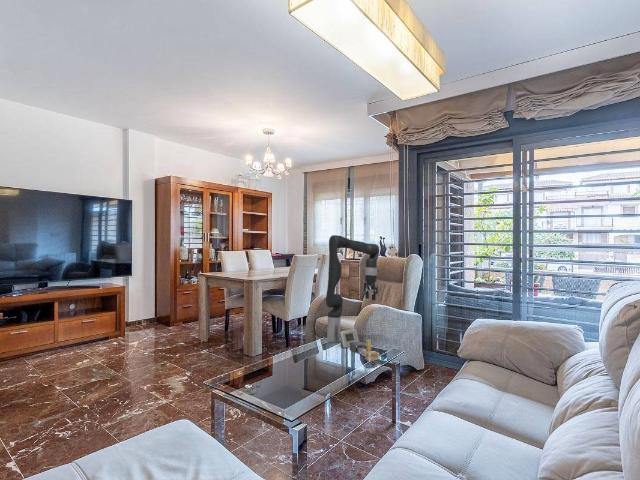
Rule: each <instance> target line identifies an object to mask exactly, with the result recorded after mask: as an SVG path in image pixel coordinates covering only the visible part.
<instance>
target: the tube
mask: <svg viewBox="0 0 640 480" xmlns="http://www.w3.org/2000/svg"><path fill="white" fill-rule="evenodd" d="M369 351H372V339H365V347H364V348H362V347H357V346H356V353H358V354H359V355H362V356H363V357H365V352H369Z"/></svg>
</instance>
